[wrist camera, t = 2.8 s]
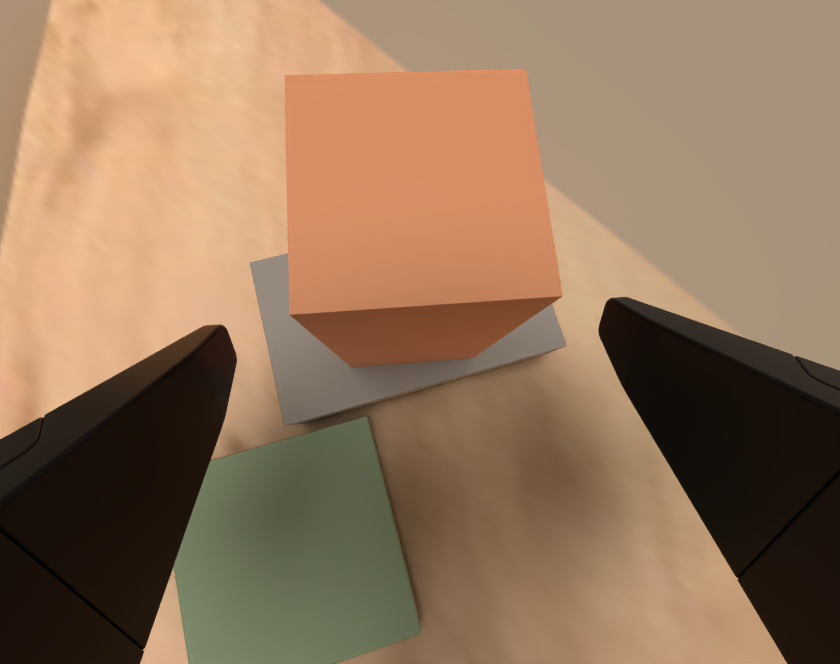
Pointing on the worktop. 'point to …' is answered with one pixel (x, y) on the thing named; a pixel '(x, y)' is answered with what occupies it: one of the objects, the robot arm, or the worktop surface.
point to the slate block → (355, 387)
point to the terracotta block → (415, 213)
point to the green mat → (295, 555)
